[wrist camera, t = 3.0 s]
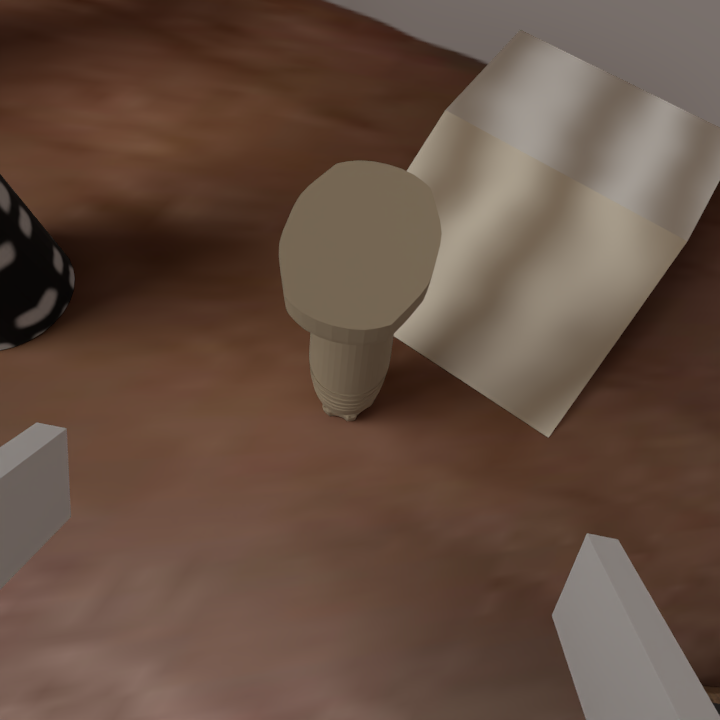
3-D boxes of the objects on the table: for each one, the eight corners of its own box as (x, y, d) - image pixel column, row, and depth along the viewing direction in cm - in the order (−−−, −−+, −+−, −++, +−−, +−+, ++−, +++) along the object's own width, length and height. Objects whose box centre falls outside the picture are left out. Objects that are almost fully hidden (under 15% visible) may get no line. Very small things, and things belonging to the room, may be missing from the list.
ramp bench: (328, 307, 34) (329, 234, 26) (487, 123, 41) (520, 29, 34) (536, 445, 31) (600, 405, 23) (665, 219, 38) (742, 138, 31)
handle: (398, 359, 30) (456, 181, 17) (370, 460, 28) (413, 348, 14) (322, 338, 31) (318, 146, 17) (288, 436, 28) (251, 303, 14)
